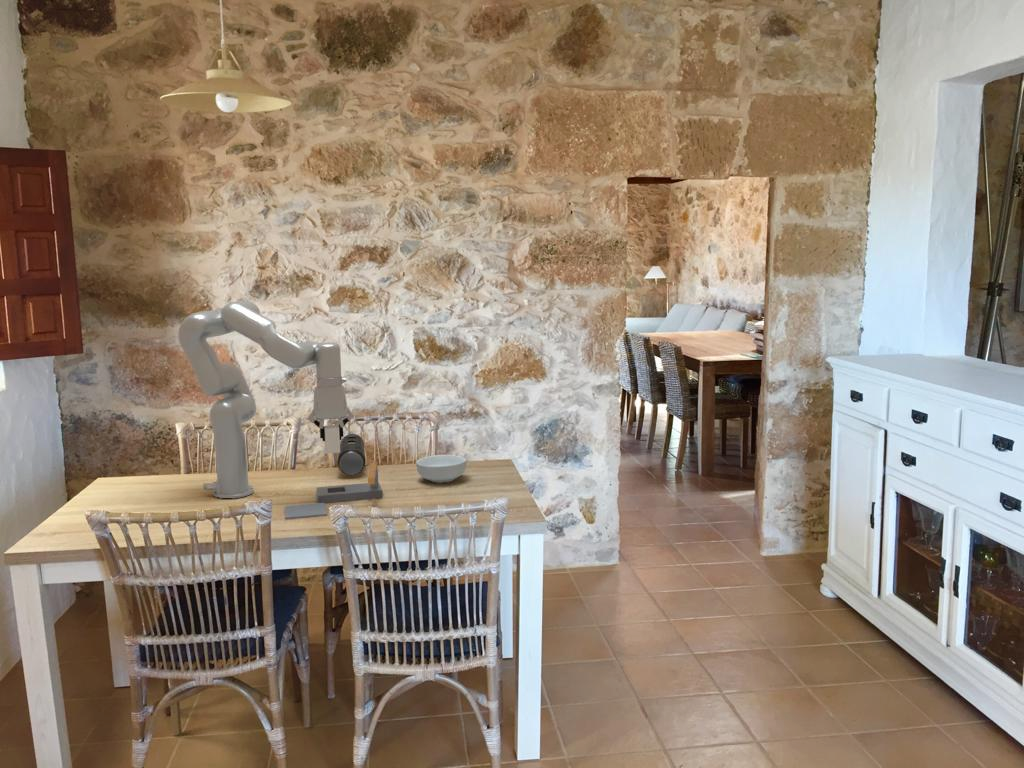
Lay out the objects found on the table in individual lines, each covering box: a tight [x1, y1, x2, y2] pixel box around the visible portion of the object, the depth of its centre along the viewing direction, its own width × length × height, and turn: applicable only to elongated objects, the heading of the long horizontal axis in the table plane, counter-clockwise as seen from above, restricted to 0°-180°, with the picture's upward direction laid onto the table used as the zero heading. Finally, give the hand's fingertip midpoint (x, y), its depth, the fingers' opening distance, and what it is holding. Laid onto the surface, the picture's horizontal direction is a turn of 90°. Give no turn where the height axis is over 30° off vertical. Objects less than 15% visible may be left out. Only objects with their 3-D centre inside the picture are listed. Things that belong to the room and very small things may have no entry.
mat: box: [284, 502, 328, 520], centre depth 257 cm, size 12×12×1 cm
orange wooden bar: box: [367, 460, 379, 484], centre depth 264 cm, size 20×3×2 cm, turn 7°
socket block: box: [316, 468, 384, 504], centre depth 271 cm, size 20×10×8 cm, turn 105°
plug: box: [323, 424, 341, 455], centre depth 267 cm, size 4×4×8 cm
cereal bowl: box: [415, 454, 467, 484], centre depth 289 cm, size 17×17×7 cm
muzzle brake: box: [337, 433, 366, 476], centre depth 305 cm, size 10×28×10 cm, turn 10°
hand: (331, 439), depth 267 cm, fingers closed on plug, 4 cm apart
